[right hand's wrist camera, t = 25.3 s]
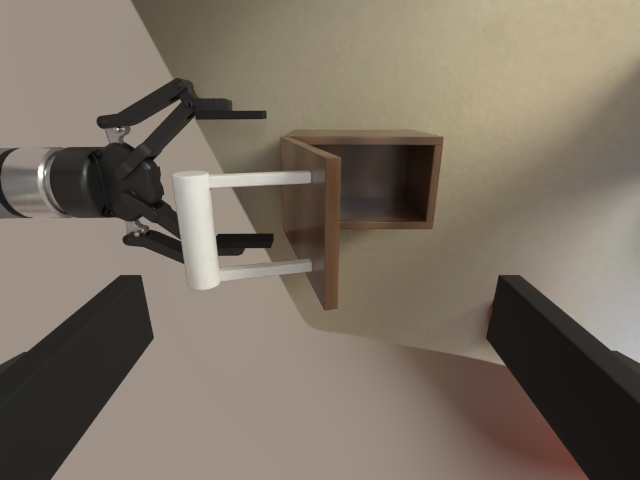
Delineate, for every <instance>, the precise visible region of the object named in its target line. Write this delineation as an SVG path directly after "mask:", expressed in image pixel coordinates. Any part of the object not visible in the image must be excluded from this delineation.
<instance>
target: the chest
mask: <svg viewBox="0 0 640 480" xmlns="http://www.w3.org/2000/svg"><path fill="white" fill-rule="evenodd" d="M286 137H291V138H293V139H296V140H298V141H301V142H303V143H306V144H308V145H311V146H313V147H315V148H318V149H320V150H323V151H325V152H328V153H330V154H333V155H335V156H338V157H340V158H341V178H340V221H339V229H432V228H433V221H434V212H435V204H436V196H437V188H438V180H439V172H440V164H441V155H442V147H443V138H444V137H442V136H437V135H433V134H428V133H423V132H419V131H414V130H294V131H293V132H291V133H290V134H289V135H287V136H286Z"/></svg>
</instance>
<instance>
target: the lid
mask: <svg viewBox="0 0 640 480" xmlns="http://www.w3.org/2000/svg"><path fill="white" fill-rule="evenodd" d="M280 140H281V168H282V172H259V173H234V174H209V173H208V172H205V171H183V172H177V173H174V174H172V183H173V190H174V196H175V203H176V210H177V216H178V223H179V230H180V237H181V243H182V250H183V257H184V264H185V270H186V277H187V283H188V287H189V288H190V289H192V290H197V291H202V290H208V289H212V288H214V287H216V286H218V285H219V283H220V282H221V281H230V280H239V279H248V278H256V277H265V276H274V275H283V274H292V273H301V272H305V273H306V275H307V277H308V279H309V281H310V283H311V285H312V287H313V289H314V291H315V293H316V295H317V297H318V299H319V301H320V303H321V305H322V307H323V308H324V310H331V309H337V308H338V265H339V221H340V178H341V158H340V157H338V156H335V155H333V154H330V153H328V152H325V151H323V150H320V149H318V148H315V147H313V146H311V145H308V144H306V143H303V142H301V141H298V140H296V139H293V138H291V137H281V138H280ZM265 185H282V195H283V222H284V232H285V234H286V236H287V238H288V240H289V242H290V244H291V246H292V247H293V249H294V251H295V253H296V255H297V257H298V259H299V260H290V261H280V262H271V263H261V264H251V265H242V266H232V267H222V268H219V262H218V253H217V244H216V235H215V226H214V216H213V207H212V199H211V189H210V188H225V187H245V186H265Z"/></svg>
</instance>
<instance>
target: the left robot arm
mask: <svg viewBox="0 0 640 480" xmlns="http://www.w3.org/2000/svg"><path fill="white" fill-rule="evenodd" d="M179 99H181V101H182V102H181V103H180V104H179V105H178V106H177V107H176V108H175V110H174V111H173V112H172V113H171V114H170V115H169V116H168V117H167V118H166V119H165V120H164V121H163V122H162V123H161V124H160V125H159V127H157V128H156V130H155V131H154V132H153V133H152V134H151V135H150V136H149V137H148V138H147V139H146V140H145V141H144V142H143V143H142V144H140V145H139V146H137V147H136V148H133V147H132V146H130V145H129V144H127V143H125V142H123V137H124V136H125V135H127V134H128V133H129V132H130V127H129V126H133V125H136V124H138V123H140V122H142V121H144V120H145V119H147V118H149V117H150V116H152V115H154V114H155V113H157V112H159V111H160V110H162V109H164V108H166V107H167V106H169V105H171V104H172V103H174V102H176V101H177V100H179ZM195 116H196V119H266V118H267V117H266V111H232V101H230V100H228V99H223V98H220V99H201V98H199V97H198V96H197V95H196V94H195V91H194V89H193V84H192V83H191V82H190V81H188V80H184V79H179V78H176V79H174V80H172V81H171V82H169V83H167V84H166V85H164V86H162V87H161V88H159V89H158V90H156V91H154V92H153V93H151V94H149V95H148V96H146V97H144V98H143V99H141V100H139V101H138V102H136V103H134V104H133V105H131V106H129V107H128V108H126V109H124V110H123V111H121V112H119V113H118V114H112V115H105V116H99V117H98V118H97V124H98V126H99V127H100V128H102V129H105V131H106V134H107V137H108V140H109V143H110V144H109V145H107V146H105V147H68V148H62V147H42V148H41V147H40V148H14V149H13V148H0V219H1V218H72V217H77V218H111V217H116V218H120V219H123V220H125V221H126V228H127V235H125V236H124V237H123V242H124V244H126V245H129V246H139V247H145V248H147V249H150V250H152V251H154V252H157V253H159V254H162V255H164V256H166V257H169V258H171V259H174V260H176V261H178V262H181V263H183V264H184V257H183V250H182V243H181V241H179V240H176V239H174V238H172V237H169V236H167V235H165V234H162V233H160V232H157V231H154V230H149V227H148V226H145V225H143V224H141V223H140V222H139V218H141V217H142V216H143V217H145V218H146V219H148V220H149V221H151V222H153V223H157V224H159V225H160V226H162V227H163V228H165V229H166V230H168V231H169V232H171V233H172V234H173V235H175V236H176V237H178V238H179V239H181V237H180V230H179V223H178V216H177V213H176V212H175V211H174V210H172V209H171V206H170V205H168V204H167V203H166V202H164V201H163V200H162V195H164V190H163V186H162V184H161V182H160V176H161V172H160V167H157V165H156V163H155V162H154V161H153V160H154V159H155V158H156V157H157V156H158V155H159V154H160V153H161V152H162V149H163V148H164V147H165V146H166V145H167V144H168V143H169V142H170V141H171V140H172V139H173V138H174V137H175V136H176V135H177V134H178V133H179V132H180V131H181V130H182V129H183V128H184V127H185V126H186V125H187V124H188V123H189V122H190V121H191V120H192V119H193V118H194V117H195ZM273 240H274V238H273V234H218V235H217V236H216V244H217V253H218V256H229V255H230V256H238V255H241V254H242V253H243V252H244V250H245V248H271V245H272V243H273Z"/></svg>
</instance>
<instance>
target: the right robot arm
mask: <svg viewBox="0 0 640 480" xmlns="http://www.w3.org/2000/svg"><path fill="white" fill-rule="evenodd" d="M153 338H154V336H153V331H152V327H151V322H150V317H149V312H148V307H147V302H146V297H145V292H144V287H143V282H142V277H141V275H120V276H119V277H118V278H116V279H115V280H114V281H113V282H111V283H110V284H109V285H108V286H107V287H105V288H104V289H103V290H102V291H101V292H99V293H98V294H97V295H96V296H94V297H93V298H92V299H91V300H90V301H88V302H87V303H86V304H85V305H84V306H82V307H81V308H80V309H79V310H78V311H76V312H75V313H74V314H73V315H71V316H70V317H69V318H68V319H67V320H65V321H64V322H63V323H62V324H61V325H59V326H58V327H57V328H56V329H55V330H53V331H52V332H51V333H50V334H49V335H47V336H46V337H45V338H44V339H42V340H41V341H40V342H39V343H38V344H36V345H35V346H34V347H33V348H32V349H30V350H29V351H28V352H23V353H21V354H19V355H18V356H16V357H14V358H12V359H10V360H8V361H7V362H5V363H3V364H1V365H0V480H51V478H52V477H53V475H54V474H55V473H56V472H57V470H58V469H59V467H60V466H61V465H62V463H63V462H64V460H65V459H66V458H67V456H68V455H69V454H70V452H71V451H72V450H73V448H74V447H75V445H76V444H77V443H78V441H79V440H80V438H81V437H82V436H83V434H84V433H85V432H86V430H87V429H88V428H89V426H90V425H91V424H92V422H93V421H94V419H95V418H96V417H97V415H98V414H99V412H100V411H101V410H102V408H103V407H104V406H105V404H106V403H107V401H108V400H109V399H110V397H111V396H112V395H113V393H114V392H115V391H116V389H117V388H118V386H119V385H120V384H121V382H122V381H123V380H124V378H125V377H126V376H127V374H128V373H129V371H130V370H131V369H132V367H133V366H134V365H135V363H136V362H137V360H138V359H139V358H140V356H141V355H142V354H143V352H144V351H145V349H146V348H147V347H148V345H149V344H150V343H151V341H152V340H153ZM486 339H487V340H488V341H489V343H490V344H491V345H492V347H493V348H494V349H495V351H496V352H497V354H498V355H499V356H500V358H501V359H502V360H503V362H504V363H505V365H506V366H507V367H508V369H509V370H510V371H511V373H512V374H513V375H514V377H515V378H516V380H517V381H518V382H519V384H520V385H521V386H522V388H523V389H524V391H525V392H526V393H527V395H528V396H529V397H530V399H531V400H532V402H533V403H534V404H535V406H536V407H537V408H538V410H539V411H540V413H541V414H542V415H543V417H544V418H545V419H546V421H547V422H548V424H549V425H550V426H551V428H552V429H553V430H554V432H555V433H556V434H557V436H558V437H559V438H560V440H561V441H562V443H563V444H564V445H565V447H566V448H567V450H568V451H569V452H570V454H571V455H572V456H573V458H574V459H575V461H576V462H577V463H578V465H579V466H580V467H581V469H582V470H583V471H584V473H585V474H586V475H587V477H588V478H589V480H640V363H638V362H636V361H634V360H633V359H631V358H629V357H627V356H625V355H623V354H621V353H620V352H618V351H611V350H610V349H608V348H607V347H606V346H605V345H604V344H602V343H601V342H600V341H599V340H598V339H596V338H595V337H594V336H593V335H592V334H590V333H589V332H588V331H587V330H585V329H584V328H583V327H582V326H581V325H579V324H578V323H577V322H576V321H575V320H573V319H572V318H571V317H570V316H569V315H567V314H566V313H565V312H564V311H562V310H561V309H560V308H559V307H558V306H556V305H555V304H554V303H553V302H552V301H550V300H549V299H548V298H547V297H546V296H544V295H543V294H542V293H541V292H539V291H538V290H537V289H536V288H535V287H533V286H532V285H531V284H530V283H529V282H527V281H526V280H525V279H524V278H523V277H521V276H520V275H499V277H498V282H497V287H496V292H495V297H494V302H493V307H492V312H491V317H490V322H489V327H488V331H487V336H486Z"/></svg>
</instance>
